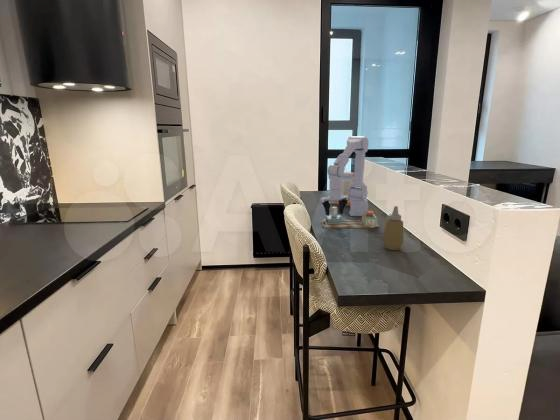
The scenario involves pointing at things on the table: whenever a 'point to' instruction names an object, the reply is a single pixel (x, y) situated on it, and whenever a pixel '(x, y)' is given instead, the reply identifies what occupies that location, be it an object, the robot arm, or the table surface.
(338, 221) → the carriage
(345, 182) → the cracker box
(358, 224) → the rail track
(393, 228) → the squeeze bottle
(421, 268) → the table surface
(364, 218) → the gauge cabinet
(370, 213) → the button
